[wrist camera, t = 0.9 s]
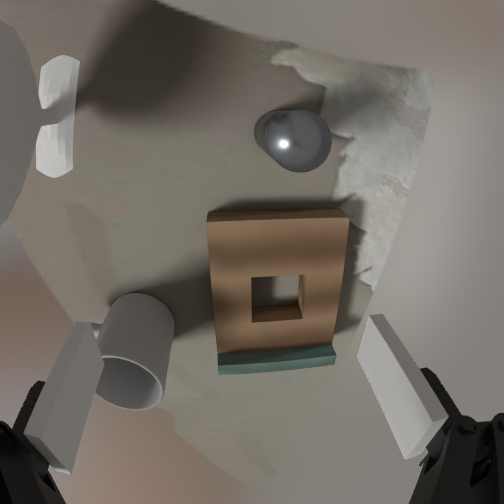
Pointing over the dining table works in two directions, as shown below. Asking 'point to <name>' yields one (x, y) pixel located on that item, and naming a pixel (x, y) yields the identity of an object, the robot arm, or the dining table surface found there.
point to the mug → (134, 351)
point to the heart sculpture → (33, 116)
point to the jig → (276, 264)
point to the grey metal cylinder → (294, 138)
